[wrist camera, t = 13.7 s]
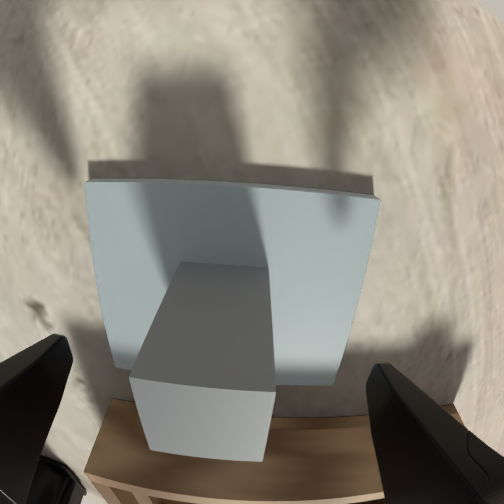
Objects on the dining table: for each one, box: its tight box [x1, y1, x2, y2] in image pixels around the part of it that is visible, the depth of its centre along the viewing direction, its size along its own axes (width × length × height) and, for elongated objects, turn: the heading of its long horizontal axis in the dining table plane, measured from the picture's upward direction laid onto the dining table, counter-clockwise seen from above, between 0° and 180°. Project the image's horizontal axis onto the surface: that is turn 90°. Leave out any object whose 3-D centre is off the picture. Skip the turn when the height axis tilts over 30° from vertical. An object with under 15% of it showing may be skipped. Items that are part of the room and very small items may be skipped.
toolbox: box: [84, 399, 464, 504], centre depth 15 cm, size 20×11×5 cm, turn 86°
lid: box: [85, 178, 380, 462], centre depth 10 cm, size 10×8×6 cm
